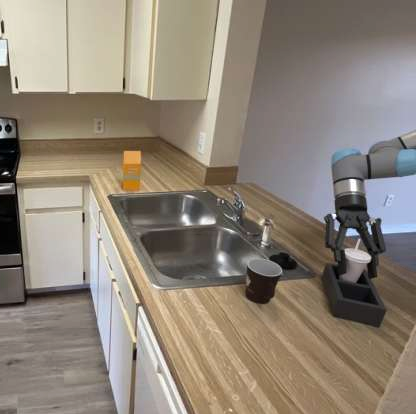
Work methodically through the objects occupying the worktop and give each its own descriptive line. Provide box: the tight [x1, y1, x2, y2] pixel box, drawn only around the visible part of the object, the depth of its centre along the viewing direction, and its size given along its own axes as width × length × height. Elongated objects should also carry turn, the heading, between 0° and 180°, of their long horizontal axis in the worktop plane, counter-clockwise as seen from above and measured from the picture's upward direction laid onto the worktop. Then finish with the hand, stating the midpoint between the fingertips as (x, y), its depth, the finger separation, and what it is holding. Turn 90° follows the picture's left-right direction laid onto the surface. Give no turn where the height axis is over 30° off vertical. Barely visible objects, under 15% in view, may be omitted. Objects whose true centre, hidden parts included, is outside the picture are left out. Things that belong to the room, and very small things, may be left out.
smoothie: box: [339, 238, 371, 283], centre depth 92 cm, size 6×6×14 cm
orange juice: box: [122, 150, 142, 191], centre depth 173 cm, size 8×9×20 cm
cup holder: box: [321, 262, 388, 328], centre depth 91 cm, size 10×19×6 cm, turn 156°
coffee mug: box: [244, 257, 283, 305], centre depth 91 cm, size 12×9×10 cm
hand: (357, 275), depth 90 cm, fingers closed on smoothie, 6 cm apart
